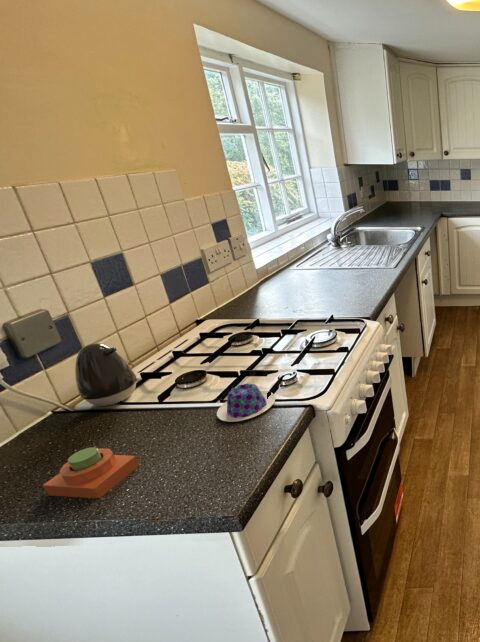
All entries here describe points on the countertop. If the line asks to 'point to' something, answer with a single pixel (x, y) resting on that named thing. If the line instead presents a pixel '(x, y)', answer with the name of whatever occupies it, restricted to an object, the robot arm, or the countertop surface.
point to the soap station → (92, 476)
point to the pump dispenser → (103, 375)
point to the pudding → (245, 403)
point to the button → (84, 458)
